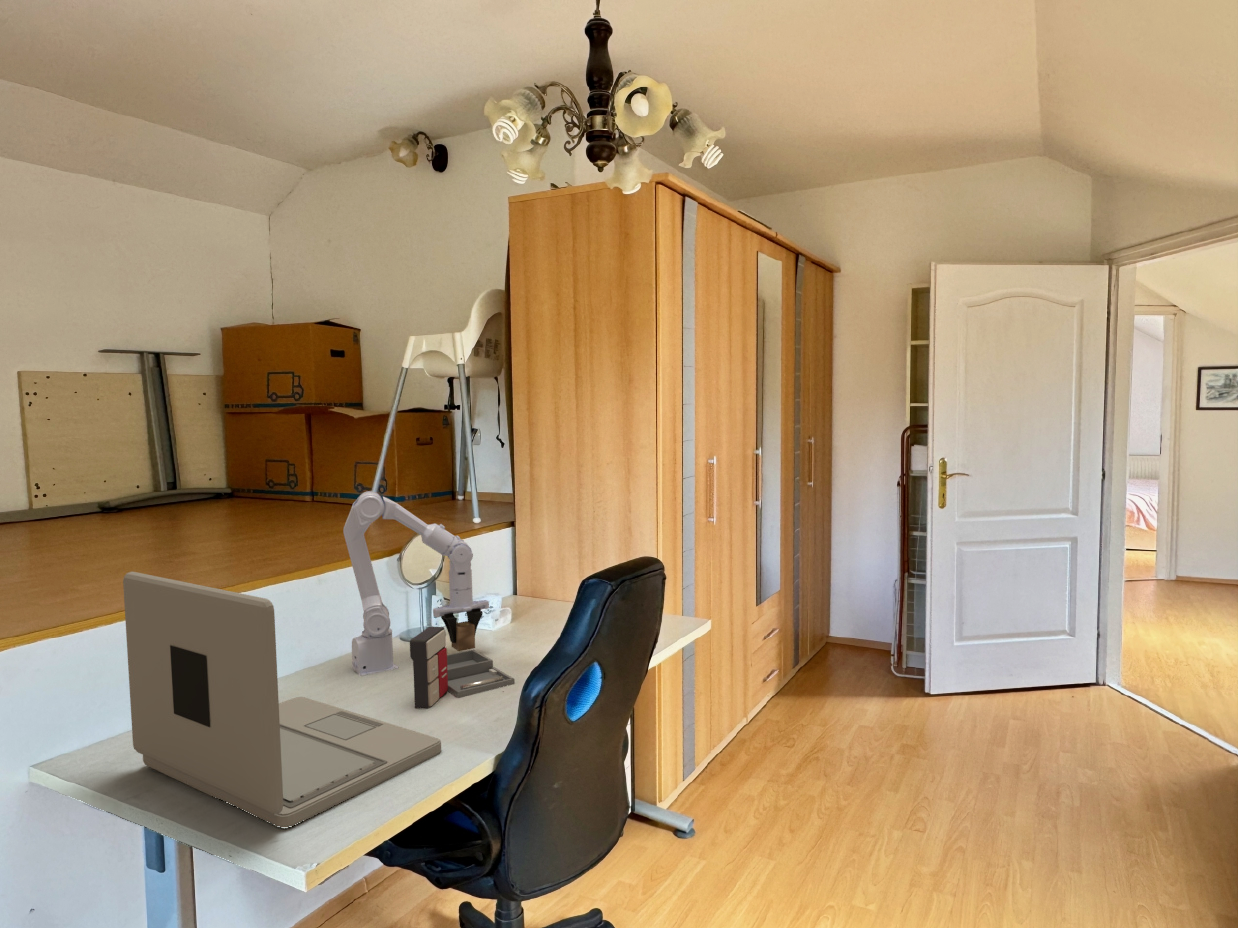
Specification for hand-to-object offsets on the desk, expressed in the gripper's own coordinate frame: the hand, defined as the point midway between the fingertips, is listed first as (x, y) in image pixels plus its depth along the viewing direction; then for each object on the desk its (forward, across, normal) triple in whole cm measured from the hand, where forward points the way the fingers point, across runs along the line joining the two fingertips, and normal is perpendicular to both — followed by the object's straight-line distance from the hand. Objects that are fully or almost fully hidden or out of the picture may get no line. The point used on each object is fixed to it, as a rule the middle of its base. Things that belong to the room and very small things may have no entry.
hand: (462, 640), depth 203 cm
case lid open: (+4, -6, -21) cm, 22 cm away
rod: (+3, -6, -25) cm, 26 cm away
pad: (+5, 0, 0) cm, 5 cm away
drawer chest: (+5, -18, -24) cm, 30 cm away
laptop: (+5, -50, -37) cm, 63 cm away
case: (+4, -6, -10) cm, 12 cm away
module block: (+2, 0, 0) cm, 2 cm away
